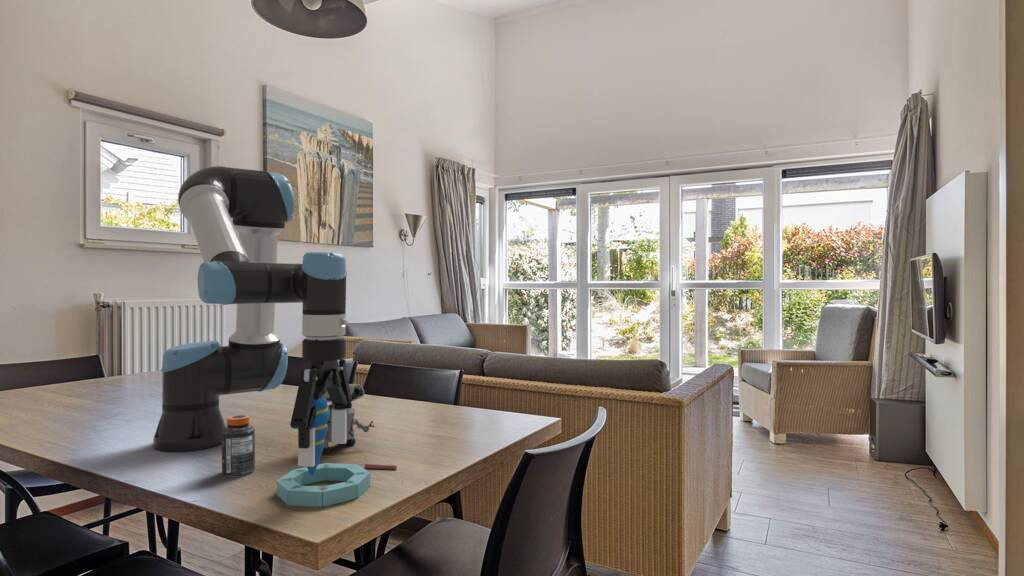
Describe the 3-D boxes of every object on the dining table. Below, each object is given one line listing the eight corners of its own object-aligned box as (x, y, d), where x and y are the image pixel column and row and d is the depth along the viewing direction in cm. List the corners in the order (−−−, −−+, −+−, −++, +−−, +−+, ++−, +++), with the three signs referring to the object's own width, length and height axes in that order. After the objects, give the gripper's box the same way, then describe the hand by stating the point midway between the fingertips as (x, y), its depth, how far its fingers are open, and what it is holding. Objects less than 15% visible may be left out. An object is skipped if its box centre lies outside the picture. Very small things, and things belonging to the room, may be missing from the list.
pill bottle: (229, 468, 117) (229, 413, 117) (259, 467, 117) (259, 412, 117) (216, 478, 111) (216, 419, 111) (248, 477, 111) (248, 419, 111)
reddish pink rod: (363, 468, 117) (363, 464, 117) (365, 467, 118) (365, 463, 118) (396, 469, 116) (396, 465, 116) (397, 468, 117) (397, 464, 117)
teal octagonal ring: (263, 504, 98) (263, 489, 98) (304, 474, 113) (304, 462, 113) (347, 508, 97) (347, 493, 97) (378, 478, 111) (378, 465, 111)
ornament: (308, 479, 96) (313, 389, 98) (288, 475, 99) (293, 387, 101) (332, 474, 101) (337, 387, 102) (313, 470, 103) (317, 386, 105)
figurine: (343, 459, 124) (343, 389, 123) (307, 450, 129) (307, 384, 129) (374, 448, 131) (374, 383, 131) (338, 441, 137) (338, 378, 137)
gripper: (312, 346, 92) (312, 478, 92) (368, 331, 117) (368, 435, 117) (268, 344, 93) (267, 475, 93) (333, 330, 117) (332, 434, 118)
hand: (323, 453), depth 105 cm, fingers open, 13 cm apart
